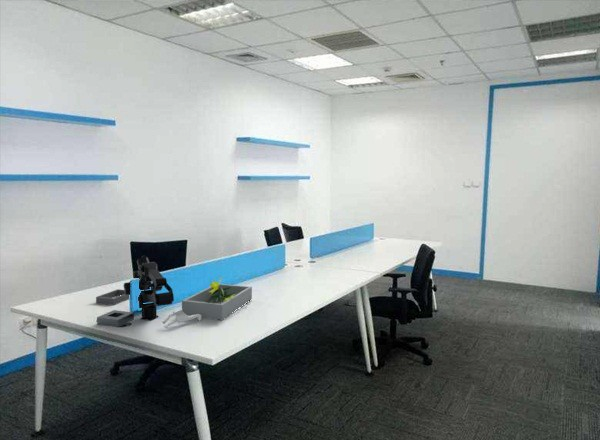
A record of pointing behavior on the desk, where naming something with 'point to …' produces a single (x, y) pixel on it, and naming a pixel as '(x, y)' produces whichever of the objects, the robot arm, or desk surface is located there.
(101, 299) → the tray
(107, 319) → the housing
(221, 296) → the daffodil flowers
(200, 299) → the planter
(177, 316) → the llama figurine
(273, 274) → the desk surface
